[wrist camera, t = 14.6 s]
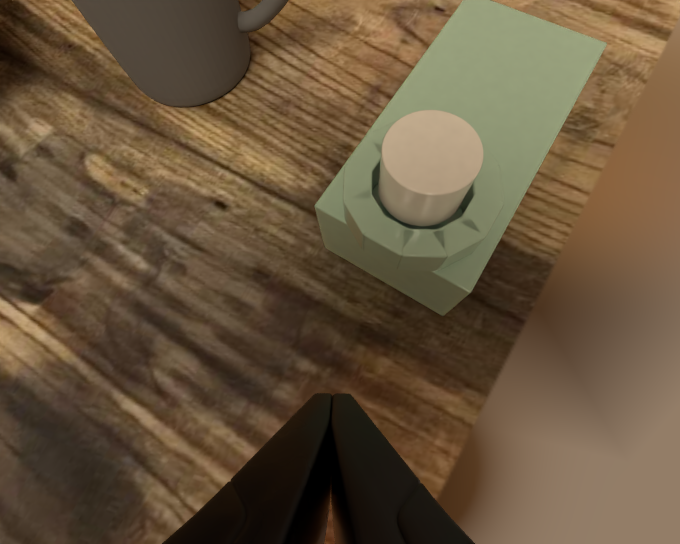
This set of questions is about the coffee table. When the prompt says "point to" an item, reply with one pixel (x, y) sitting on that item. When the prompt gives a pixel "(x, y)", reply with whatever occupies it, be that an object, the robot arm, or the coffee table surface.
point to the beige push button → (428, 166)
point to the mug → (179, 43)
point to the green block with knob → (494, 132)
